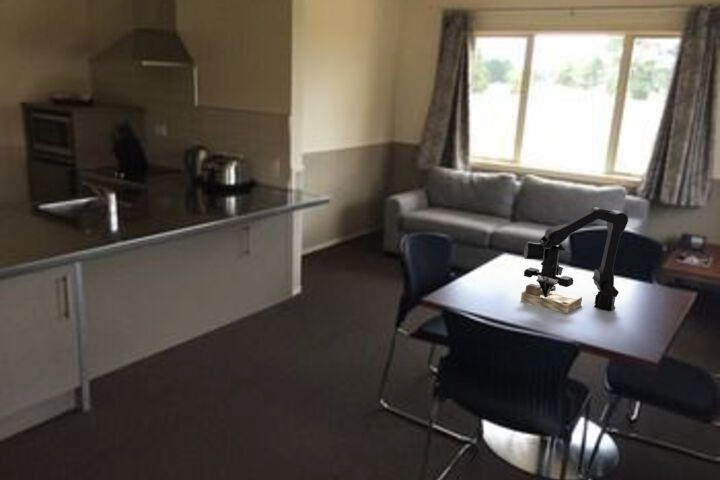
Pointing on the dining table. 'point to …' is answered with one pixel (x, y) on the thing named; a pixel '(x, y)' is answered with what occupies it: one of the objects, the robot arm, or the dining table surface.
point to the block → (533, 289)
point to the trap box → (553, 301)
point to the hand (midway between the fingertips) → (545, 297)
